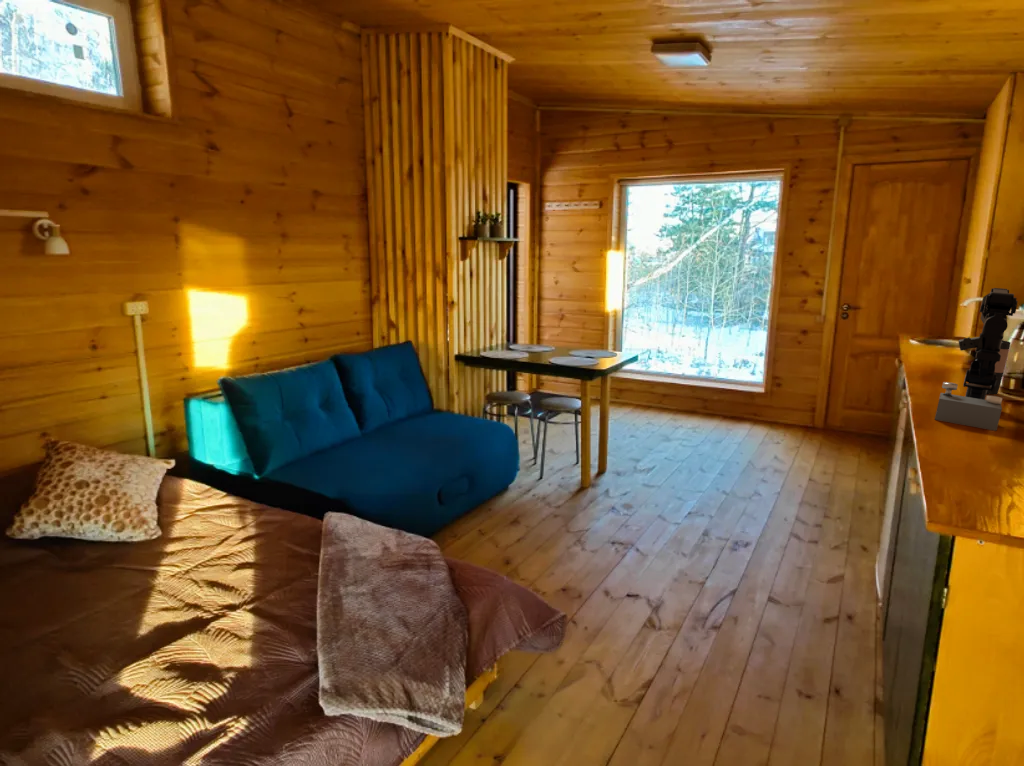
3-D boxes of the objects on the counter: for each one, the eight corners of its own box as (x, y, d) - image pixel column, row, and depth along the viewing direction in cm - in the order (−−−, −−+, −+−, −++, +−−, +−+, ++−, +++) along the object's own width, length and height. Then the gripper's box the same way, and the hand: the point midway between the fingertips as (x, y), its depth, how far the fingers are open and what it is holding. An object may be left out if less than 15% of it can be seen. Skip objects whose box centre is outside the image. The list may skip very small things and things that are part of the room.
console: (936, 413, 212) (940, 392, 211) (995, 423, 204) (1000, 402, 202) (934, 419, 204) (939, 398, 203) (996, 430, 196) (1001, 408, 194)
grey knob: (940, 393, 210) (943, 381, 209) (955, 395, 208) (957, 383, 207) (940, 395, 207) (942, 383, 206) (954, 398, 205) (957, 385, 204)
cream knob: (983, 407, 204) (986, 394, 203) (999, 409, 202) (1002, 397, 201) (983, 409, 201) (986, 397, 200) (999, 412, 199) (1002, 399, 198)
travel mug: (1002, 395, 242) (1015, 343, 237) (979, 393, 243) (992, 341, 238) (992, 390, 249) (1004, 340, 244) (970, 388, 250) (982, 338, 246)
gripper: (963, 325, 221) (953, 369, 224) (962, 330, 206) (952, 378, 209) (1003, 329, 215) (992, 375, 218) (1005, 335, 200) (993, 384, 203)
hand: (981, 377), depth 213 cm, fingers closed
